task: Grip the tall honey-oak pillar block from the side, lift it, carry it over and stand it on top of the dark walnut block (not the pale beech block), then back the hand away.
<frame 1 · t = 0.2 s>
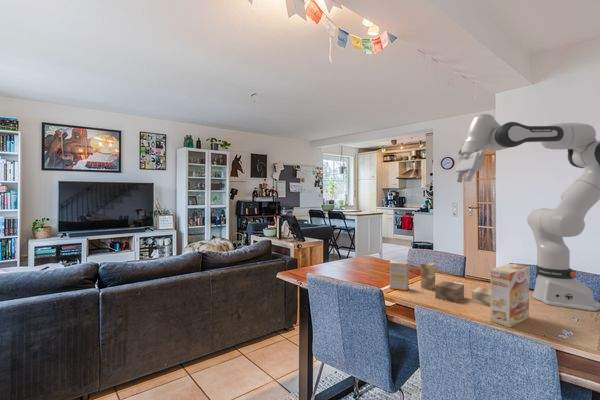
hand: (463, 181, 143), 51 cm above the table, tool tilted 20°, fingers open, 8 cm apart
beech block: (485, 302, 139), on the table
walnut block: (449, 298, 145), on the table
oak pillar: (428, 288, 160), on the table
coffeecake box: (509, 320, 121), on the table
supplement box: (399, 288, 160), on the table
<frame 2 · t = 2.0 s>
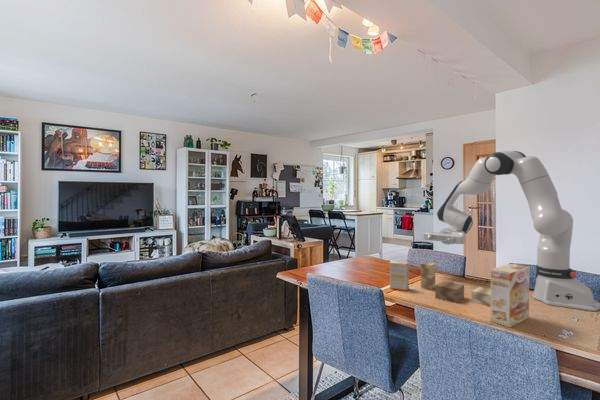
hand: (437, 239, 167), 22 cm above the table, tool horizontal, fingers open, 8 cm apart
nothing on the table moved.
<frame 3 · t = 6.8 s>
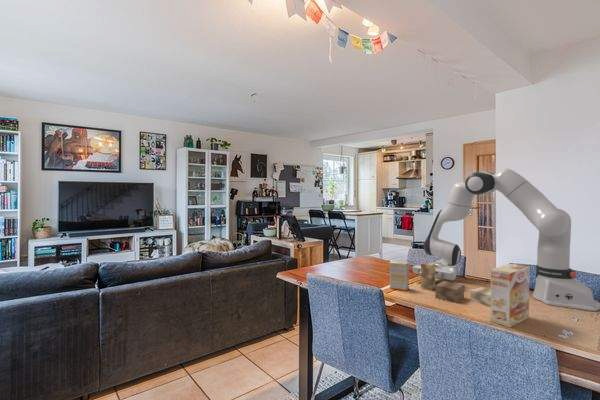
hand: (427, 275, 159), 7 cm above the table, tool horizontal, fingers closed on oak pillar, 5 cm apart
oak pillar: (428, 288, 160), on the table, touching gripper
everything else where it was.
when the fingers open (13 cm above the table, at t = 11.1 s): oak pillar drops 1 cm, resting on walnut block.
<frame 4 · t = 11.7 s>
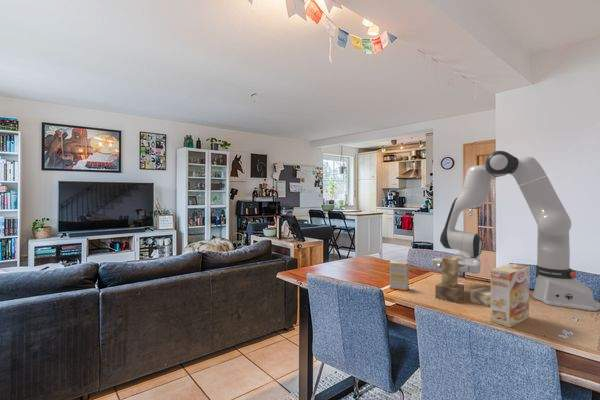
hand: (449, 268, 144), 13 cm above the table, tool horizontal, fingers open, 8 cm apart
walnut block: (449, 298, 145), on the table, touching oak pillar
oak pillar: (449, 285, 145), point 6 cm above the table, touching walnut block
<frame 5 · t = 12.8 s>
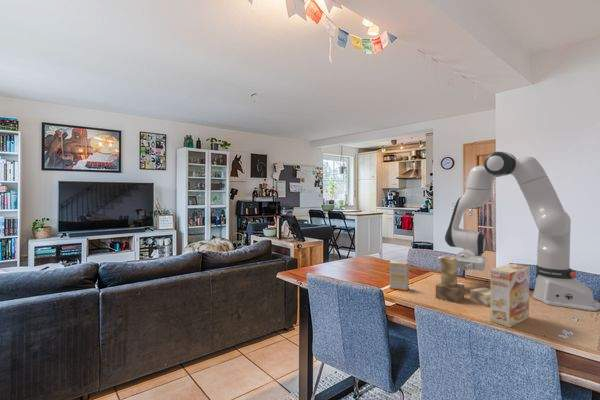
hand: (454, 265, 149), 13 cm above the table, tool horizontal, fingers open, 8 cm apart
nothing on the table moved.
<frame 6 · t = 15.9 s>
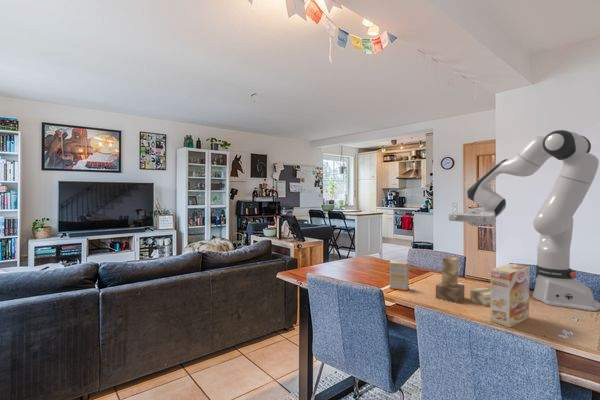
hand: (466, 219, 153), 34 cm above the table, tool horizontal, fingers open, 8 cm apart
at the end: oak pillar inside the target area on the walnut block (0.2 cm from its centre), point 6.0 cm above the walnut block's base; oak pillar tilted 1°; the gripper is holding nothing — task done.
